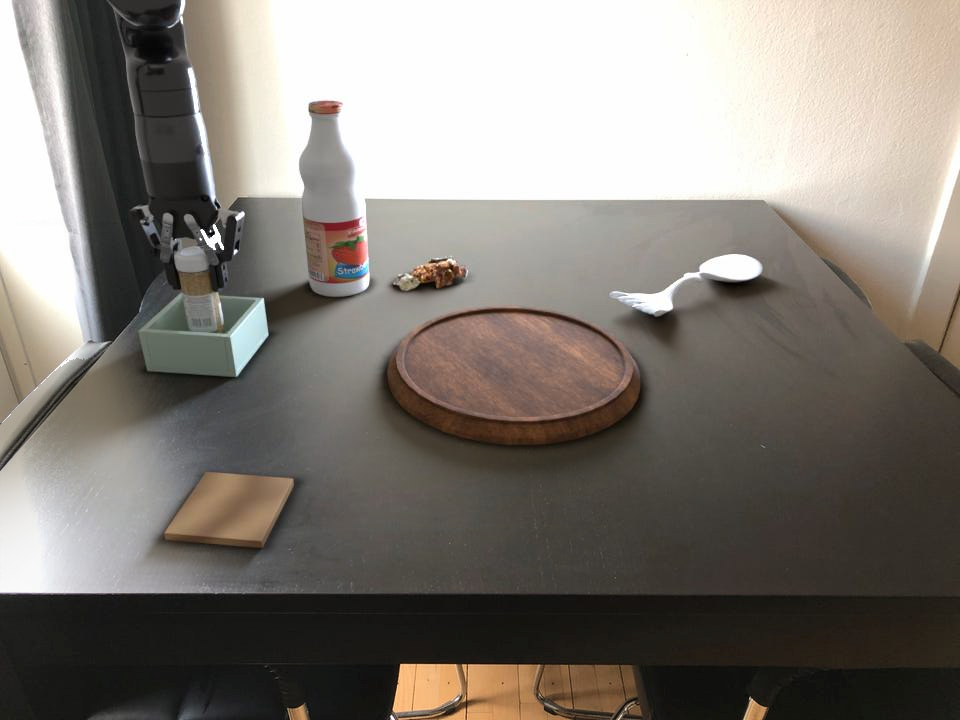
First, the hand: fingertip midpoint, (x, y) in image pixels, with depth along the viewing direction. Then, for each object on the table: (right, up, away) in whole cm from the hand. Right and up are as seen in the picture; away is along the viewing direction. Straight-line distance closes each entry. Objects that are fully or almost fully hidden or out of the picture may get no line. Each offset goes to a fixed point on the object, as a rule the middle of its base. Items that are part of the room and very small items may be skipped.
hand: (199, 288), depth 93 cm
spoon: (+69, +1, +25) cm, 74 cm away
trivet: (+12, -24, -23) cm, 35 cm away
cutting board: (+40, -11, +2) cm, 41 cm away
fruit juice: (+13, +3, +25) cm, 28 cm away
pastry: (+27, +4, +27) cm, 39 cm away
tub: (0, -8, +5) cm, 9 cm away
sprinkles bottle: (0, -8, +4) cm, 9 cm away
